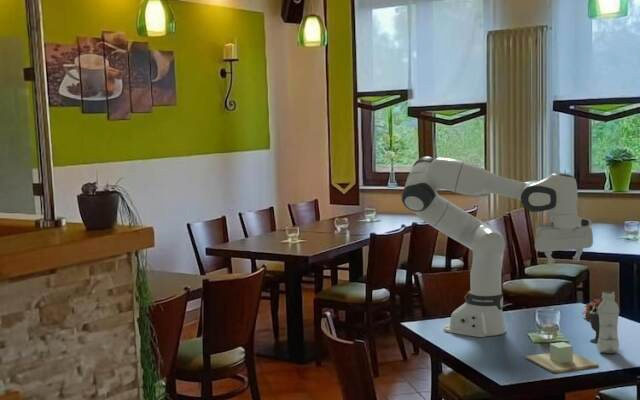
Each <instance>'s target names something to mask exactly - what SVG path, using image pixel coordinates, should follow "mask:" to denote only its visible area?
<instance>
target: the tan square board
mask: <svg viewBox="0 0 640 400" xmlns="http://www.w3.org/2000/svg"><path fill="white" fill-rule="evenodd" d="M525 360H527V361H529V362H530V363H533V364H534V365H537V364H538V365H537V366H539V367H540V366H541V368H542V367H543V368H542V369H544V368H545V370H546V369H547V371H548V372H550V373H551V374H558V373H565V372H571V371H572V372H573V371H579V370H586V369H594V368H599V366H600V364H599V363H598V362H597V363H596V362H594V361H592V360H590V359H588V358H586V357H584V356H581V355H579V354H577V353H575V352H573V362H566V363H557V362H555V361H553V360H551V359H550V352H546V353H541V354H540V353H539V354H533V355H532V354H531V355H525Z"/></svg>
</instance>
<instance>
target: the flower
mask: <svg viewBox="0 0 640 400" xmlns="http://www.w3.org/2000/svg"><path fill="white" fill-rule="evenodd" d="M602 299H603V298H600V299H598V298H597V299H596V298H595V299H594V300H593V301H590V302H589V303H586V305H585V306H583V307H584V308H585V310H583V311H582V312H581V314H582V315H584V317H585V318H586V319H590V315H589V314H588V312H589V311H590V305H591V306H594V305H598V303H600V302H602Z"/></svg>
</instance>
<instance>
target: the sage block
mask: <svg viewBox="0 0 640 400" xmlns="http://www.w3.org/2000/svg"><path fill="white" fill-rule="evenodd" d="M573 349H574V347H573V345H571V344H569V343H567V342H565V341H561V342H554V343H553V342H552V343H549V353H550V359H551V360H553V361H555V362H557V363H566V362H573V353H574V350H573Z"/></svg>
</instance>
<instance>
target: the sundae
mask: <svg viewBox="0 0 640 400" xmlns="http://www.w3.org/2000/svg"><path fill="white" fill-rule="evenodd" d="M601 299H602V300H603V298H601ZM600 303H601V302H600ZM600 303H598V305H594V306H591V305H590V311H589V312H588V314H589V315H590V318H589V319H590V326H591V328H592V331H594V332H595V337H594V338H592V339H590V341H589V342H590V343H594V344H597V343H598V338H599V330H600V324H599V314H598V306H599V304H600Z"/></svg>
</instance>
